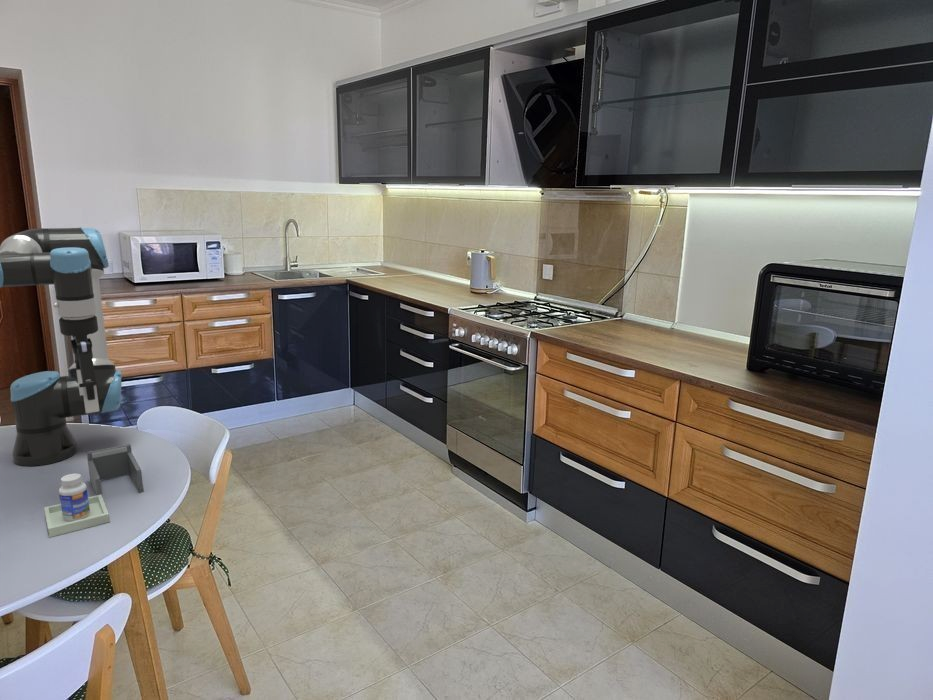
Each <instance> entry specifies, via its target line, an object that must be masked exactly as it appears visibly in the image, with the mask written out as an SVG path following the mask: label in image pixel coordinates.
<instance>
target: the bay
mask: <svg viewBox="0 0 933 700" xmlns="http://www.w3.org/2000/svg"><path fill="white" fill-rule="evenodd" d="M86 456H87V465H88V466H87V467H88V471H89V478H90V484H91V486H92V489H93V491H94V494H95V495H94V496H96V495H100V494H101V495H102V498H103V491H102V484H101V483H102V482H101V481H103V480H104V481H105V480H108V479H113V478H117V477H118V478H119V477H121V476H126V475H129V476H130V477H131V479H132V481H133V484H134V485H135V487H136V489H137V491H138V493H143V492H145V491H144V484H143V481H144V480H143V473H142V469H141V467H140V465H139V463H138V461H137V459H136V458H135V456H134V454H133V451H132V445H131V443H128V444H127V443H126V444H121V445H117V446H112V447H106V448H102V449H97V450H91V451H87V452H86ZM103 499H104V498H103Z"/></svg>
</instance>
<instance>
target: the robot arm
mask: <svg viewBox="0 0 933 700" xmlns="http://www.w3.org/2000/svg"><path fill="white" fill-rule="evenodd" d="M105 248H106V247H105V244H104V241H103V237H102V234H101V232H100V231H99V229H96V228H93V227H91V228H89V227H88V228H87V227H81V226H80V227H62V228H60V227H59V228H56V227H55V228H54V227H53V228H51V227H50V228H45V227H43V228H32V229H26V230H23V231H19V232H16V233H14V234H12V235H10V236H8V237H7V238H5V239H4V240H2V242H1V244H0V288H4V287H5V288H6V287H8V288H9V287H25V286H46V285H47V286H48V285H50V286H51V285H52V286H53V287H54V293H55V299H56V302H55V303H53V307H54V308H56V309H57V314H58V316H59V317H60V318H59V320H58V324H59V331H60V334H61V335H63V336H68V337H70V338H71V340H70V345H71V347H72V356H73V363H72V365H71V366H70V367H68V375H65V376H64V375H63V376H61V374H60V373H59V372H58V371H57V370H52V371H51V370H46V371H45V370H44V371H39V372H35V373H31V374H29V375H28V374H27V375H24V376H22V377H19V378H18V379H15V380H14V381H13V382H12V383H11V384H10V386H9V387H10V388H9V389H10V402H11V405H12V410H13V417H14V423H15V428H16V436H15V440H14V445H13V450H12V459H13V462H14V464H16V465H19V466H25V467H34V466H35V467H36V466H44V465H49V464H54V463H57V462H61V461H63V460H65V459H69V458H70V457H72V456H74V455H75V454H76V453H77V451H78V446H77V441H76V439H75V438H74V436H73V434H72V433H71V432H72V431H70V429H69V427H68V425H67V421H66V418H70V417H71V418H72V417H73V418H74V417H80V416H87V415H95V414H104V413H108V412H109V413H110V412H115V411H117V410H118V409H120V408H121V402H122V371H121V370H119V369H117V370H116V364H115V363H113V362H112V361H111V360H110V359H109V353H108V345H107V344H108V343H107V338H106V337H107V336H106V330H105V328H106V327H105V319H104V318H105V317H104V312H103V301H102V293H101V285H100V279H101V277H103V275H105V271H104V269H107V268H109V267H110V266H109V260H108V256H107V252H106V249H105Z"/></svg>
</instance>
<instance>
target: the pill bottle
mask: <svg viewBox="0 0 933 700" xmlns="http://www.w3.org/2000/svg"><path fill="white" fill-rule="evenodd" d="M82 477H83V476H82V474H80V473H69V474H66V475H64V476H62V477H61V478H60V483H61V486H60V487H59V489H58V495H59V502H60V504H61V508H62V515H63V519H64V520H66V521H76V520H80V519H83V518H85V517H87V516H88V515H89V514H90V507H89V500H88V497H89V494H88V489H87V488H88V487H87V484H86V483H85V482H83V478H82Z"/></svg>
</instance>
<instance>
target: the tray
mask: <svg viewBox="0 0 933 700" xmlns="http://www.w3.org/2000/svg"><path fill="white" fill-rule="evenodd" d="M102 497H103V494H102V495H101V494H100V495H92V496H88V500H89V507H90V514H89V515H88V516H87V517H85V518H83V519H80V520H76V521H66V520H64V519H63V515H62V508H61V503H57V504H53V505H50V506H49V505H48V506H44V507H43V509H44V516H45V521H46V526H47V531H48V536H49V538H52V537H55V536H60V535H64V534H68V533H72V532H75V531H79V530H83V529H88V528H92V527H95V526H100V525H104V524H107V523H110V522H111V521H110V515H109V511H108V509H107V506H106V503H105V501H104V498H102Z"/></svg>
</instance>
